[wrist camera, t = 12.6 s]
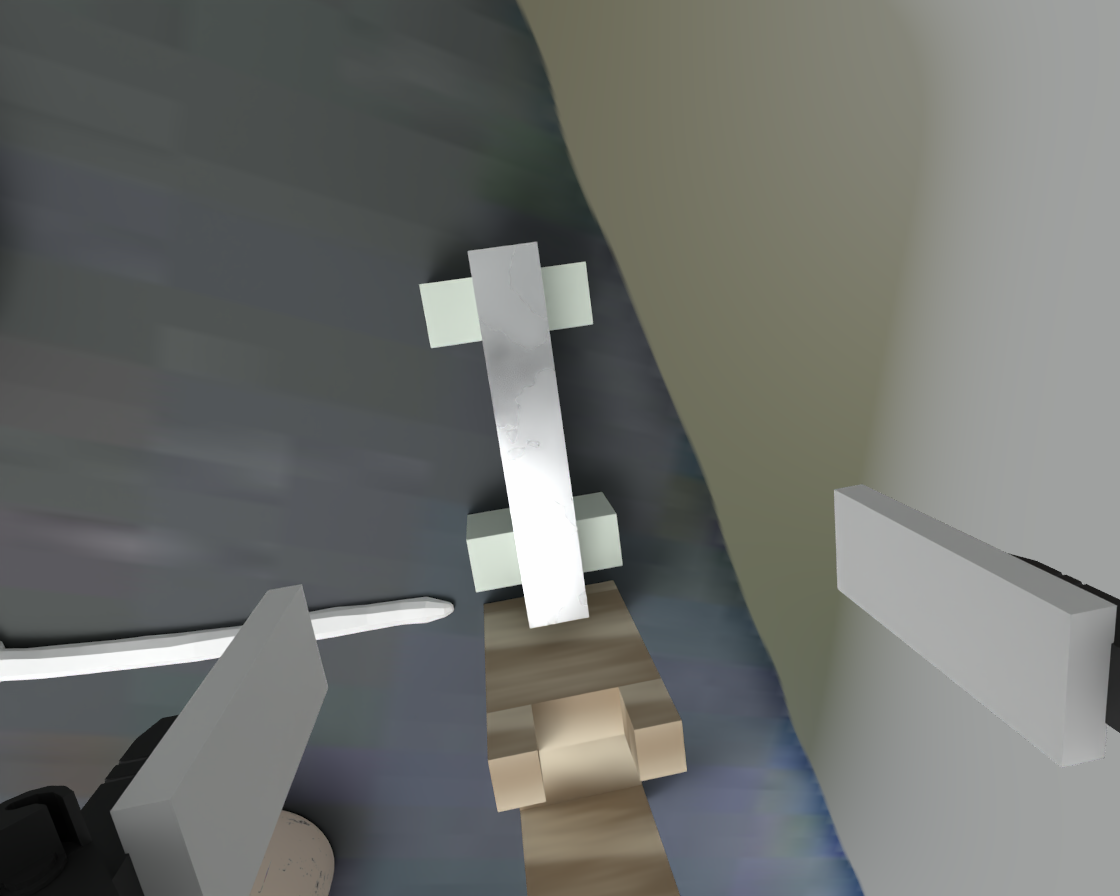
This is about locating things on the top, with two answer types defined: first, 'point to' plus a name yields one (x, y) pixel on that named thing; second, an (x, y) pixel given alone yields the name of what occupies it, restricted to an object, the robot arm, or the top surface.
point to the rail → (530, 430)
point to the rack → (580, 746)
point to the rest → (493, 530)
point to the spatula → (201, 641)
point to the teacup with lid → (295, 860)
